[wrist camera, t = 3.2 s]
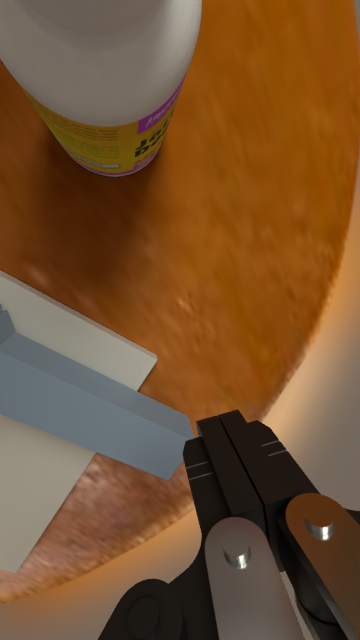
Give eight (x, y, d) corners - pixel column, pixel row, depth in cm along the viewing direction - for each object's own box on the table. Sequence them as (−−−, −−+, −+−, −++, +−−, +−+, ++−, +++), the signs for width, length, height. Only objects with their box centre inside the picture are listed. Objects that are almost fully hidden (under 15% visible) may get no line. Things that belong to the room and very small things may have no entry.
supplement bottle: (140, 198, 19) (161, 123, 6) (35, 145, 17) (-211, -97, 5) (183, 91, 17) (310, -254, 5) (74, 21, 16) (-119, -745, 3)
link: (-110, 352, 17) (-156, 375, 15) (-68, 269, 17) (-108, 275, 14) (154, 462, 23) (158, 494, 20) (196, 403, 22) (206, 428, 19)
